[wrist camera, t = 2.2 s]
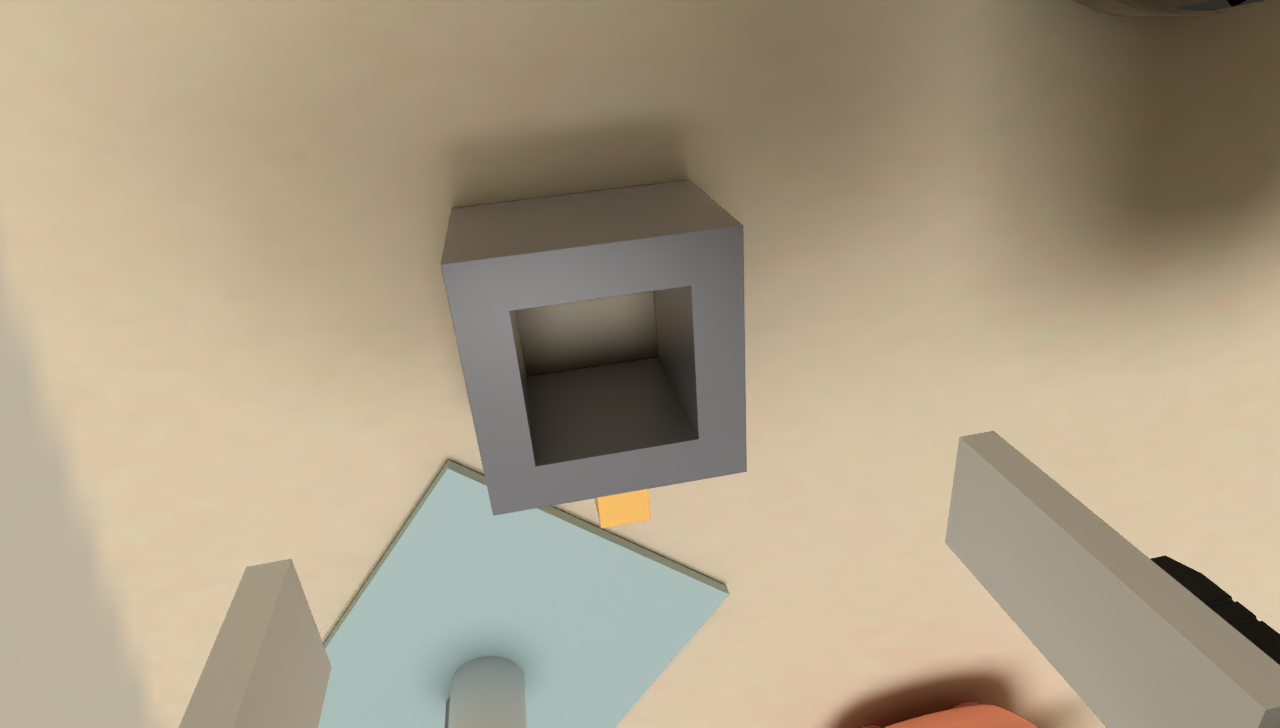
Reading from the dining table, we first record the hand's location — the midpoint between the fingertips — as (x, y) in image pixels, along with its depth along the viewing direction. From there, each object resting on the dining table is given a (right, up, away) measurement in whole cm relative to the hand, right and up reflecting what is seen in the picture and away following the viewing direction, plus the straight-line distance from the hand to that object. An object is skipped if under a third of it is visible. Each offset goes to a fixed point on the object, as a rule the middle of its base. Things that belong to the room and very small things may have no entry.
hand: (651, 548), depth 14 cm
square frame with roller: (-2, +6, +12) cm, 13 cm away
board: (-7, -10, +18) cm, 22 cm away
